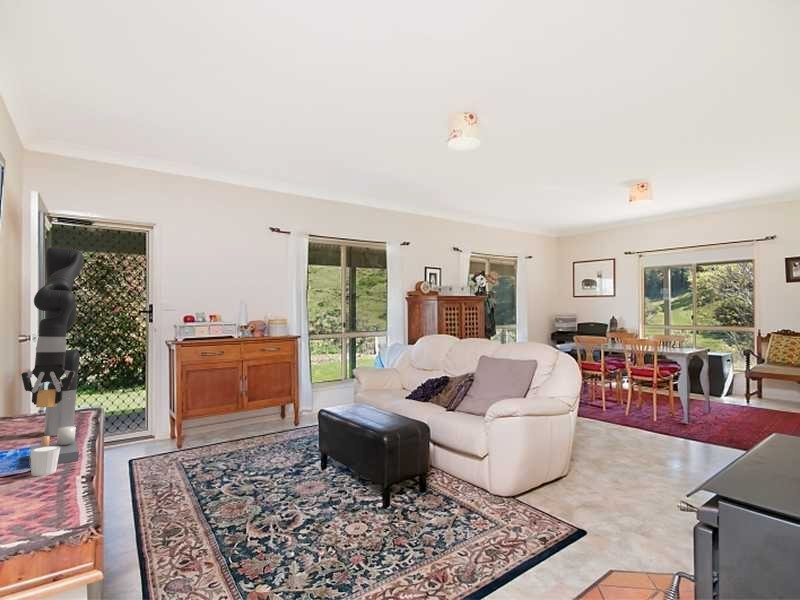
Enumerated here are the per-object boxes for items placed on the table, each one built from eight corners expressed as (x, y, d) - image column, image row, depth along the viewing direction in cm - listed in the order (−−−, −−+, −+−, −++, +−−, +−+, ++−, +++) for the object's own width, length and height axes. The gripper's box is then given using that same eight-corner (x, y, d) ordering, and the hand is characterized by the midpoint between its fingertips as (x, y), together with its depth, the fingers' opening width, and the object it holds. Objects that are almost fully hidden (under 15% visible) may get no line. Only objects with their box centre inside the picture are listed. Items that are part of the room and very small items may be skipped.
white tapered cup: (64, 470, 127) (66, 447, 128) (38, 478, 121) (40, 453, 122) (48, 467, 130) (50, 444, 130) (22, 474, 123) (24, 450, 124)
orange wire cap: (39, 405, 138) (41, 389, 139) (58, 404, 140) (59, 389, 141) (34, 407, 134) (35, 391, 134) (53, 406, 136) (54, 391, 136)
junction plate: (30, 455, 141) (32, 429, 142) (75, 449, 149) (77, 424, 150) (28, 467, 129) (31, 439, 130) (78, 460, 137) (80, 433, 137)
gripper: (80, 350, 145) (77, 401, 143) (27, 350, 139) (23, 403, 138) (74, 351, 138) (70, 404, 137) (18, 351, 132) (13, 406, 131)
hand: (46, 403), depth 137 cm, fingers closed on orange wire cap, 4 cm apart
